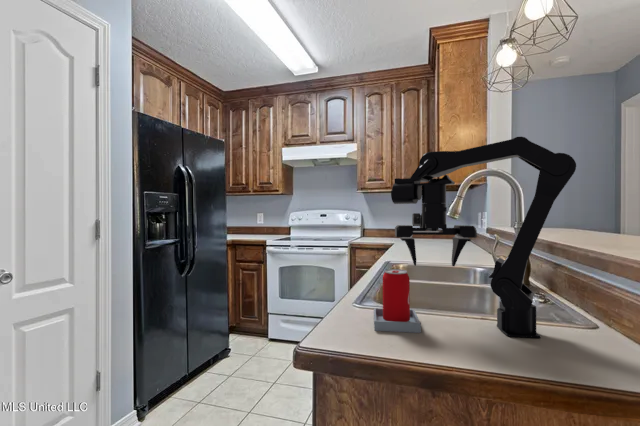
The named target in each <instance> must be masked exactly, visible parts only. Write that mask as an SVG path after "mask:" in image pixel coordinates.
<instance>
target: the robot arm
mask: <svg viewBox="0 0 640 426" xmlns="http://www.w3.org/2000/svg"><path fill="white" fill-rule="evenodd" d="M513 158H518V159H520V160H521V161H523V162H524V163H526V164H528V165H529V166H531V167H532V168H534V169H535V170H538V171H539V172H538V177H537V178H538V179H537V182H536V186H535V187H536V188H535V192H534V196H533V199H532V201H531V204H530V206H529V208H528V211H527V212H526V215H525V217H524V220H523V222H522V224H521V227H520V229H519V231H518V233H517V235H516V238H515V240H514V242H513V245H512V247H511V249H510V252H509V254H508V256H507V257H506V259H503V258H501V257H498V258H497V259H496V261H495V263H494V267H493V268H494V269H493V271H492V273H491V274H489V276H488V278H489V279H491V280H490V288H491V290H492V292H493V293H494V294H495V295H496V296H497V297H499V300H500V301H499V308H498V307H497V308H496V318H497V319H496V322H497V323H496V327H497V328H498V329H499V330H500V331H501V332H502V333H503V334H504V335H506V336H507V337H515V338H516V337H517V338H533V339H534V338H536V339H540V338H541V334H539V333H538V332H537V306H536V305H534V304H533V301H534V295H535V293H534V291H533V290H531V289H530V287H528V286H527V285H526V284H525V282H524V280H525V274H526V270H527V265H528V261H529V260H528V259H529V257H530V255H531V253H532V251H533V248H534V246H535V244H536V242H537V240H538V238H539V236H540V234H541V231H542V228H543V227H544V225H545V223H546V221H547V218H548V215H549V214H550V211H551V209H552V207H553V205H554V202H555V201H556V199H557V198H558V196H559V195H560V193H562V191H563V189H564V188H565V187H566V185H567V184H568V182H569V181H570V180H571V178H572V176H573V175H574V174H575V172H576V168H577V163H576V160H575V159H574V157H572V156H571V155H569V154H567V153H563V152H556V153H555V152H553V151H551V150H550V149H548V148H546V147H543V146H541V145H539V144H537V143H534V142H532V141H531V140H529V138H527V137H525V136H516V137H513V138H511V139H508V140H502V141H499V142H497V141H496V142H494V143H489V144H483V145H479V146H476V147H471V148H467V149H462V150H453V151H452V150H450V151H449V150H441V151H440V150H438V151H436V150H435V151H427V152H425V153H424V154H423V155H422V156H421V158H420V160H419V162H418V166H417V167H416V169H415V170H414V172H413V173H412V175H411V176H410V177H409V178H401V177H398V178H394V183H393V184H392V187H391V190H390V198H391V201H392V204H394V205H411V204H412V205H413V204H415V205H417V203H418V202H419V201H420V200H421V213H418V212H416V213H414V212H413V213H412V225H410V224H397V225H396V226H395V227H394V236H395V237H396V238H399V239H400V240H401V241H403V242H405V244H406V246H407V248H408V251H409V254H410V257H411V260H412V262H413V263H412V264H413V266H414V267H415V266H417V254H416V253H417V252H416V242H415V238H414V237H413V236H414V235H417V236H419V235H420V236H421V235H423V236H425V235H426V236H428V235H429V236H431V235H432V236H436V235H437V236H452V250H451V266H452V267H455V266H456V265H457V261H458V259H459V257H460V254H461V252H462V251H463V249H464V247H465V246H466V244H467V242H471V241H472V238H474V239H475V238H477V237H478V235H477V233H478V231H477V228H476V227H475V226H474V225H467V224H465V225H464V224H463V225H461V224H458V225H457V224H455V225H454V226H453V227H447V211H448V210H447V208H448V207H447V186H450V185H451V186H453V185H455V184H456V182H455V181H453V180H452V179H451V177H450V176H449V175H448V174H451V173H453V172H456V171H457V170H458V171H459V170H460V169H463V168H466V167H471V166H473V167H474V166H477V165H482V164H483V165H484V164H487V163H492V162H493V163H494V162H498V161H504V160H508V159H513ZM439 229H440V230H439Z"/></svg>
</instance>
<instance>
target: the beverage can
mask: <svg viewBox="0 0 640 426" xmlns="http://www.w3.org/2000/svg"><path fill="white" fill-rule="evenodd" d="M382 275H383V276H382V308H383V319H384V320H385V321H398V322H408V321H409V320H410V309H411V305H410V304H411V303H410V301H411V300H410V299H411V298H410V294H411V292H410V279H411V278H410V276H409V274H408V271H407V270H406V269H399V268H390V269H389V268H388V269H385V270H384V273H383V274H382Z"/></svg>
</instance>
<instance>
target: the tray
mask: <svg viewBox="0 0 640 426" xmlns="http://www.w3.org/2000/svg"><path fill="white" fill-rule="evenodd" d="M421 324H422V323H421V321H420V319H419V317H418V315H417V313H416V310H415V309H411V308H410V320H409V321H408V322H398V321H385V320H384V319H383V307H382V308H379V307H374V308H373V326H374V327H373V328H374V331H376V332H378V331H379V332H395V333H396V332H398V333H399V332H400V333H416V334H418V333H420V334H421V332H422V331H421V330H422V329H421V327H422V326H421Z"/></svg>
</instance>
